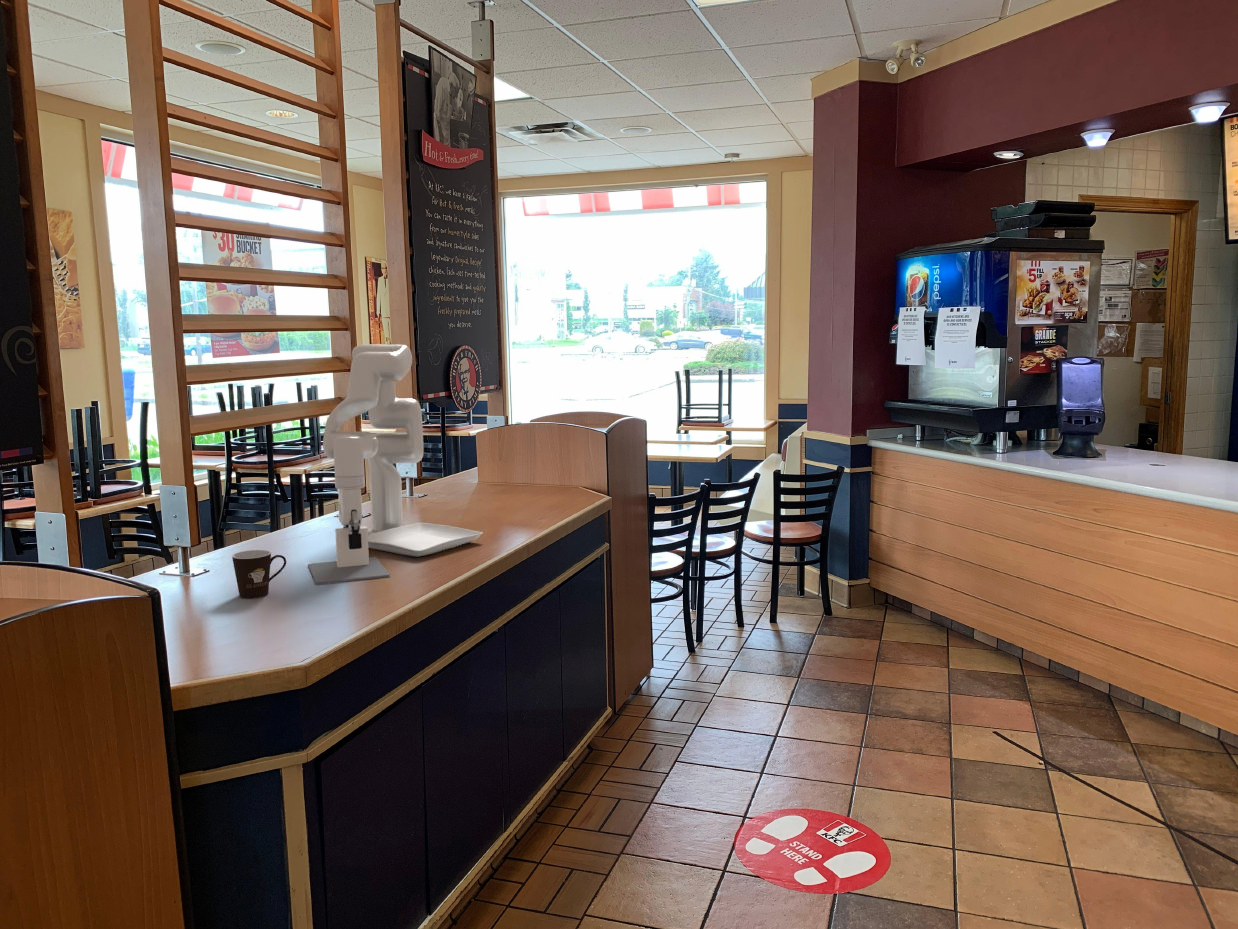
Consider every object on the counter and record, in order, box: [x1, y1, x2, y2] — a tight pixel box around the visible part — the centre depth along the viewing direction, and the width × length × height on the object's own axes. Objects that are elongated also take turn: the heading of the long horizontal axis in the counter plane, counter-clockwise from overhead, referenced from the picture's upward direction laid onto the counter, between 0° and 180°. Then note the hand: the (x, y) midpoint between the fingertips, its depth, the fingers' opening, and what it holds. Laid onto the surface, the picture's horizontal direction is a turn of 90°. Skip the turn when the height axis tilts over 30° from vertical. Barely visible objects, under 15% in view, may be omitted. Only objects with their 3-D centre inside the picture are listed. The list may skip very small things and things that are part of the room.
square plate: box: [368, 522, 484, 557], centre depth 260 cm, size 27×27×4 cm
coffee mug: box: [231, 549, 287, 600], centre depth 210 cm, size 12×9×10 cm
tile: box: [334, 525, 370, 567], centre depth 235 cm, size 3×8×10 cm, turn 114°
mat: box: [307, 556, 390, 586], centre depth 231 cm, size 20×18×1 cm
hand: (352, 544), depth 235 cm, fingers open, 9 cm apart
